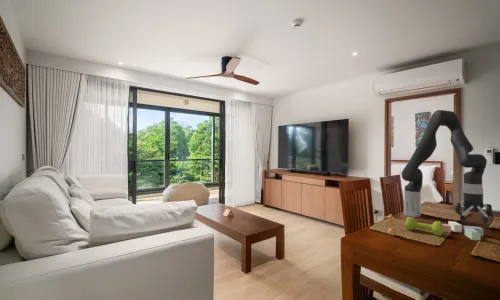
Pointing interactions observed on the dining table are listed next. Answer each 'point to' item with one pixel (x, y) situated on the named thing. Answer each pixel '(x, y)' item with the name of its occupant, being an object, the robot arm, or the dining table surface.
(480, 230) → the slate brick
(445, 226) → the terracotta brick
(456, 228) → the cream brick
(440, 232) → the dumbbell
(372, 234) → the dining table surface
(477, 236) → the sage brick
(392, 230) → the figurine
